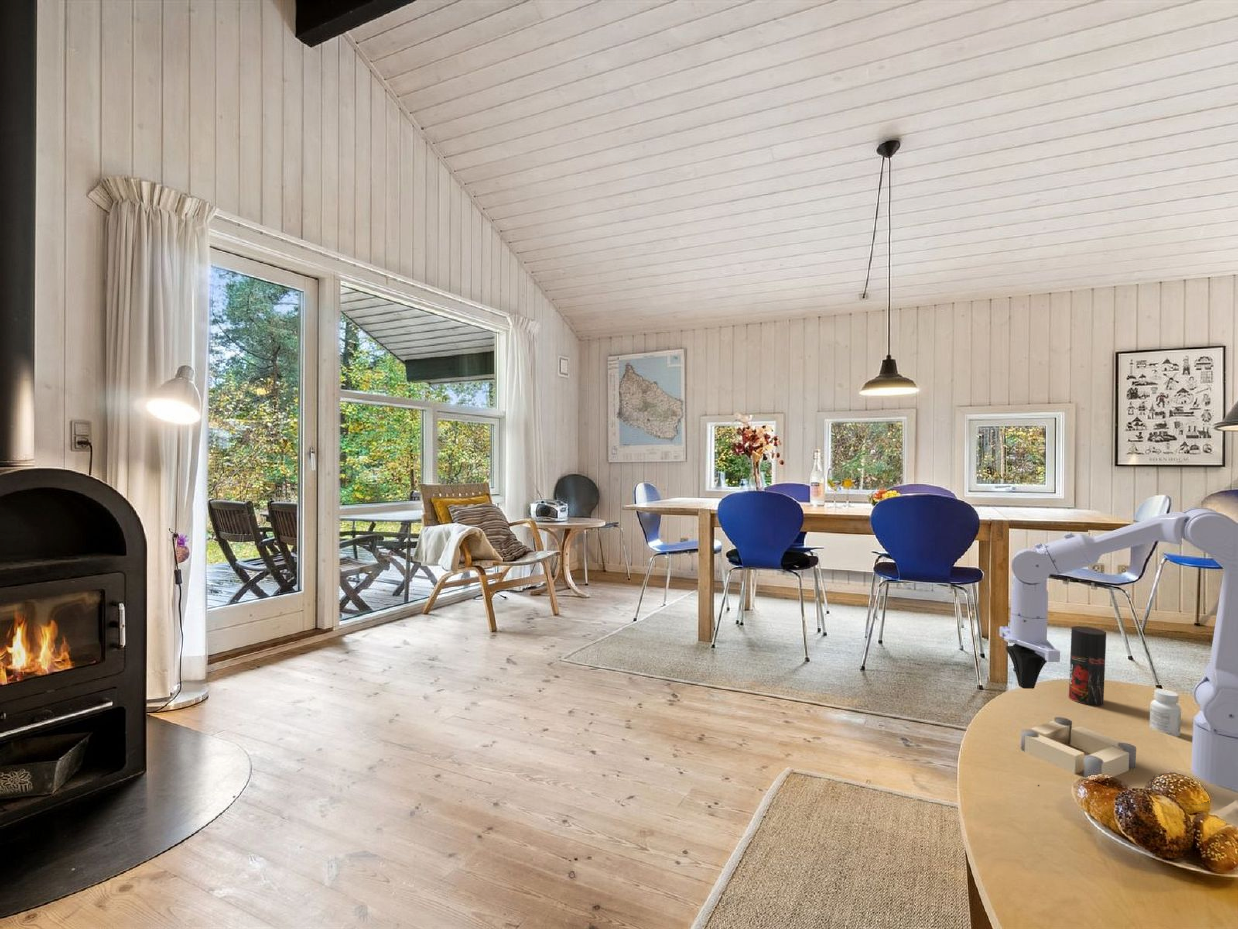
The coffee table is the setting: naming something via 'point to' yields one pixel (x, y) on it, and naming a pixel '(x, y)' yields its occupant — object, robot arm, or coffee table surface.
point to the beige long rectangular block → (1056, 730)
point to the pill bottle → (1165, 712)
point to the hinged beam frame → (1102, 760)
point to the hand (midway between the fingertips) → (1026, 687)
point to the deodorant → (1087, 665)
